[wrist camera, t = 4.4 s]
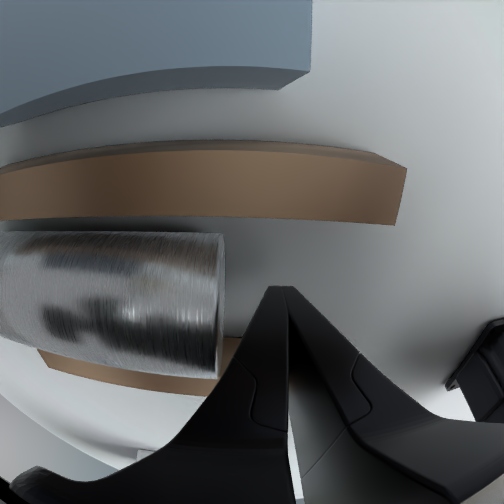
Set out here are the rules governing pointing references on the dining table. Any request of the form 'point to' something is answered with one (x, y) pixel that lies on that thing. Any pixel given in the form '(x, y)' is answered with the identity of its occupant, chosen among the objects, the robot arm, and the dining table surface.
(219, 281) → the axle
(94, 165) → the guide channel
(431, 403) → the dining table surface
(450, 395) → the dining table surface
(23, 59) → the v block
